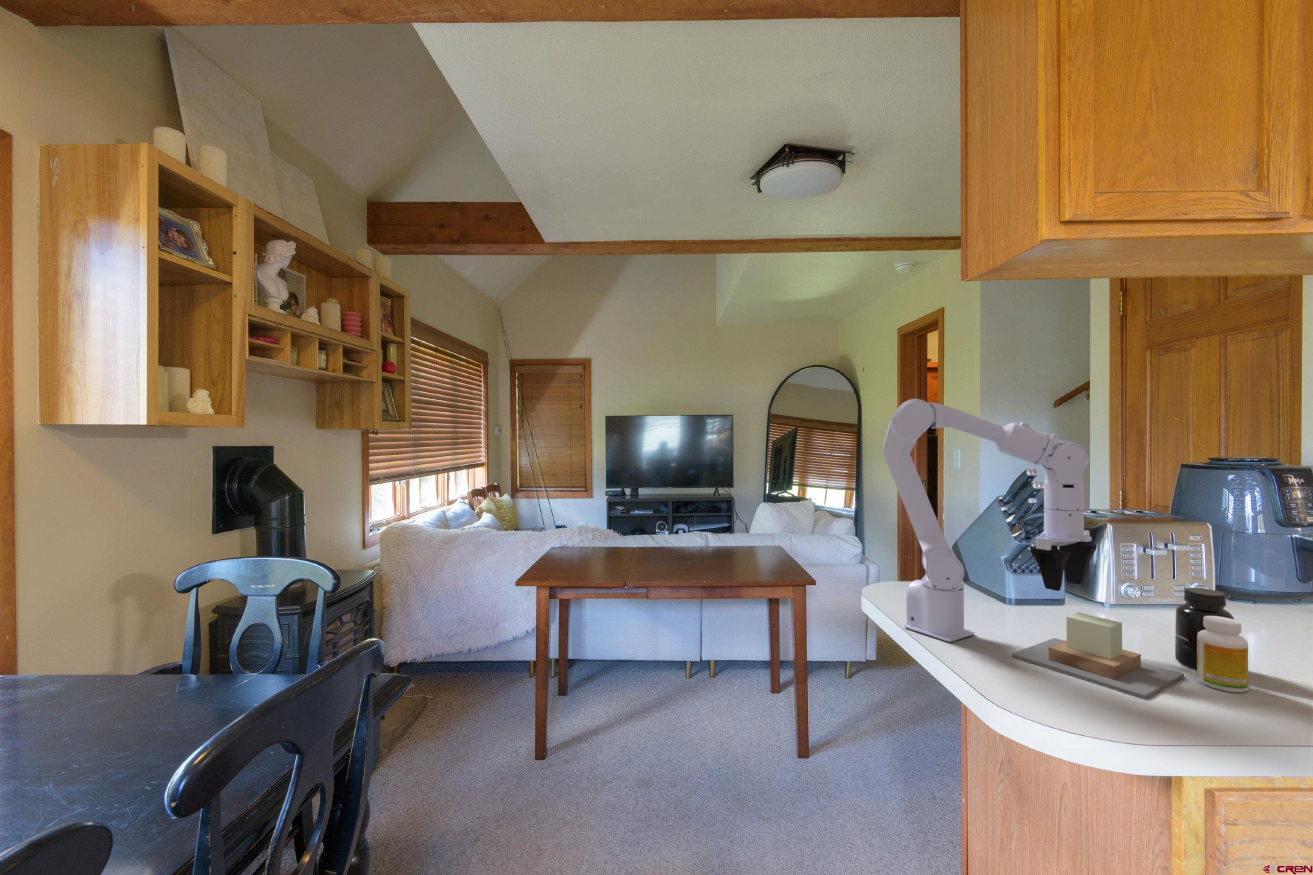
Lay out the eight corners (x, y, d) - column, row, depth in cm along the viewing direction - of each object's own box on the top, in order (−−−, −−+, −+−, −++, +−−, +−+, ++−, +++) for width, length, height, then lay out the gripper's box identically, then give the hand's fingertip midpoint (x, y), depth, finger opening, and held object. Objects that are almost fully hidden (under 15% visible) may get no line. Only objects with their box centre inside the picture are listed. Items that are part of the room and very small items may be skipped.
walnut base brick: (1048, 659, 94) (1048, 647, 93) (1075, 648, 98) (1075, 636, 98) (1114, 679, 86) (1114, 666, 86) (1140, 666, 90) (1140, 654, 90)
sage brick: (1066, 647, 93) (1066, 616, 93) (1078, 642, 95) (1078, 612, 95) (1110, 659, 88) (1110, 627, 88) (1122, 654, 90) (1122, 622, 90)
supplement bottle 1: (1165, 661, 94) (1165, 588, 94) (1188, 654, 96) (1189, 583, 96) (1220, 677, 87) (1220, 599, 87) (1243, 670, 90) (1243, 593, 90)
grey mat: (1011, 656, 96) (1011, 653, 96) (1054, 640, 103) (1054, 637, 103) (1144, 699, 81) (1144, 695, 81) (1184, 676, 88) (1184, 673, 88)
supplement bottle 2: (1258, 695, 82) (1259, 626, 82) (1214, 691, 83) (1214, 624, 83) (1229, 679, 87) (1229, 614, 87) (1188, 676, 88) (1187, 612, 88)
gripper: (1068, 514, 94) (1068, 597, 94) (1109, 508, 101) (1109, 585, 101) (1022, 510, 100) (1023, 588, 100) (1064, 504, 107) (1064, 576, 107)
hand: (1063, 586), depth 101 cm, fingers open, 7 cm apart
